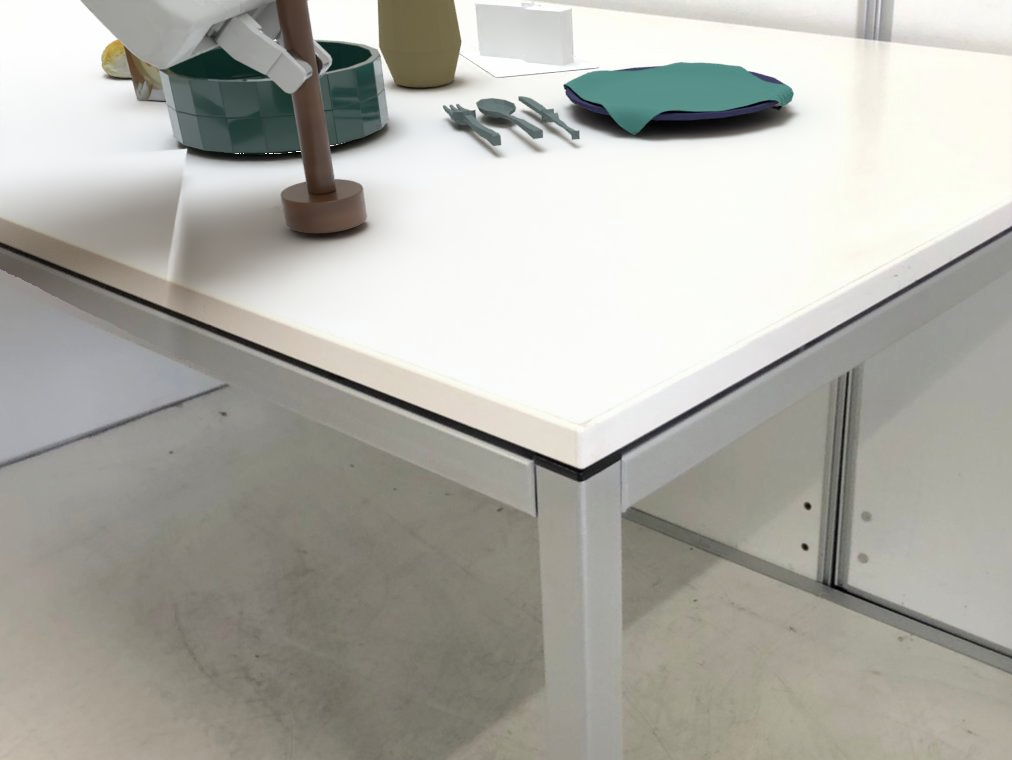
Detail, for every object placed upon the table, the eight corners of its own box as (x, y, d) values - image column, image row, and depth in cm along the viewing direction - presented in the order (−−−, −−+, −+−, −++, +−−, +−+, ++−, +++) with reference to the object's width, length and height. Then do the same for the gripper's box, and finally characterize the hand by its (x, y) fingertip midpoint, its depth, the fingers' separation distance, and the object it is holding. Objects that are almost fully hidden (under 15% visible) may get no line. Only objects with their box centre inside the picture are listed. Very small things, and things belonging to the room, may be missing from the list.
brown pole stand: (287, 237, 70) (236, -41, 62) (284, 212, 74) (237, -51, 66) (370, 228, 71) (332, -45, 63) (363, 204, 76) (326, -55, 67)
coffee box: (254, 91, 109) (219, -93, 101) (214, 105, 104) (174, -87, 95) (174, 86, 111) (134, -94, 103) (132, 100, 106) (86, -89, 98)
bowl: (171, 169, 85) (152, 88, 82) (181, 118, 100) (166, 47, 97) (399, 149, 90) (389, 71, 87) (378, 102, 104) (369, 34, 101)
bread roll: (199, 61, 122) (191, 22, 120) (174, 79, 114) (165, 37, 112) (123, 63, 122) (114, 24, 120) (92, 80, 114) (82, 39, 112)
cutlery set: (829, 122, 95) (832, 94, 94) (493, 163, 86) (490, 132, 84) (725, 78, 111) (726, 54, 110) (431, 108, 101) (428, 82, 100)
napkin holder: (456, 52, 125) (451, -3, 122) (551, 44, 128) (549, -10, 125) (496, 77, 113) (492, 17, 110) (600, 67, 117) (598, 8, 114)
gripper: (43, -137, 54) (272, 76, 58) (229, -153, 71) (395, 12, 75) (-12, -37, 57) (209, 160, 61) (179, -76, 74) (342, 80, 78)
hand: (313, 78), depth 68 cm, fingers closed on brown pole stand
